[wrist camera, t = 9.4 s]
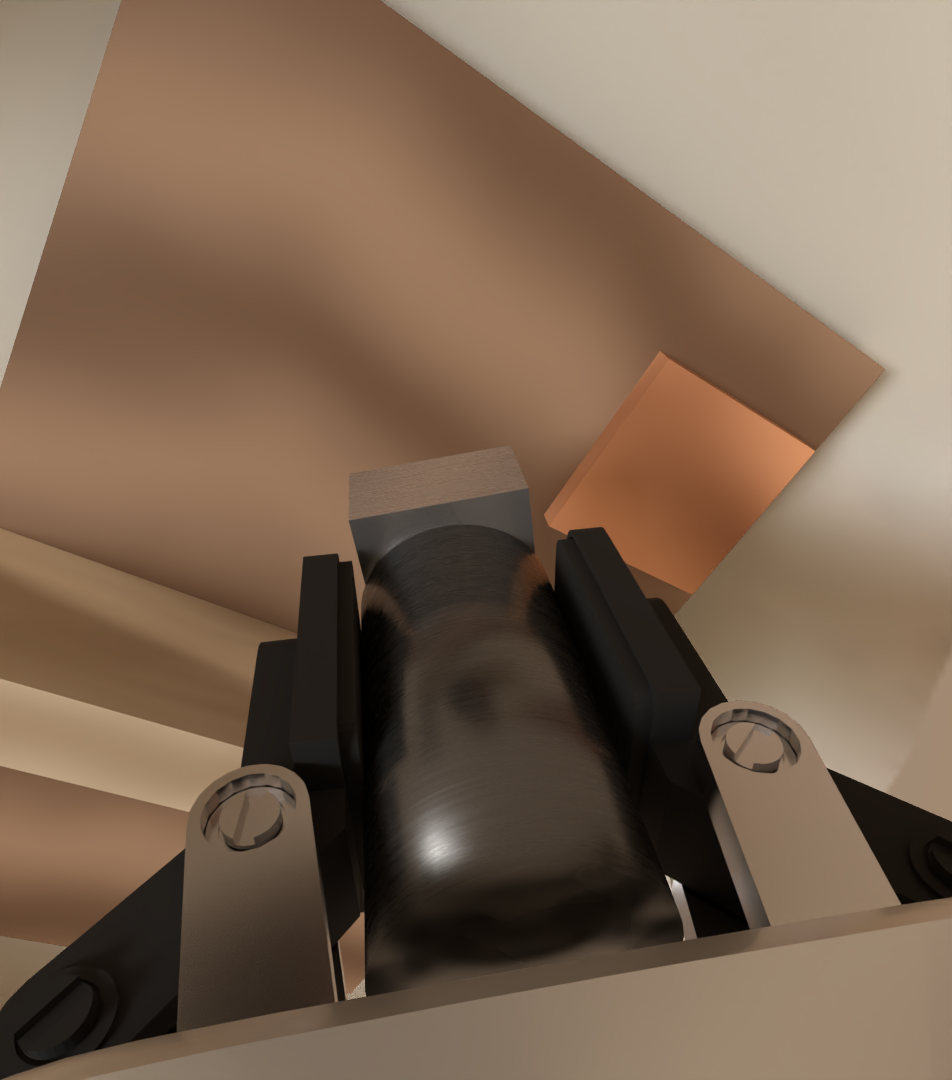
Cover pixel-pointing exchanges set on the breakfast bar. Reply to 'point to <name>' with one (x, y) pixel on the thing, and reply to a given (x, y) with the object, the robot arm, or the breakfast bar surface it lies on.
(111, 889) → the jamb plate
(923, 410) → the breakfast bar surface
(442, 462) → the crank handle
